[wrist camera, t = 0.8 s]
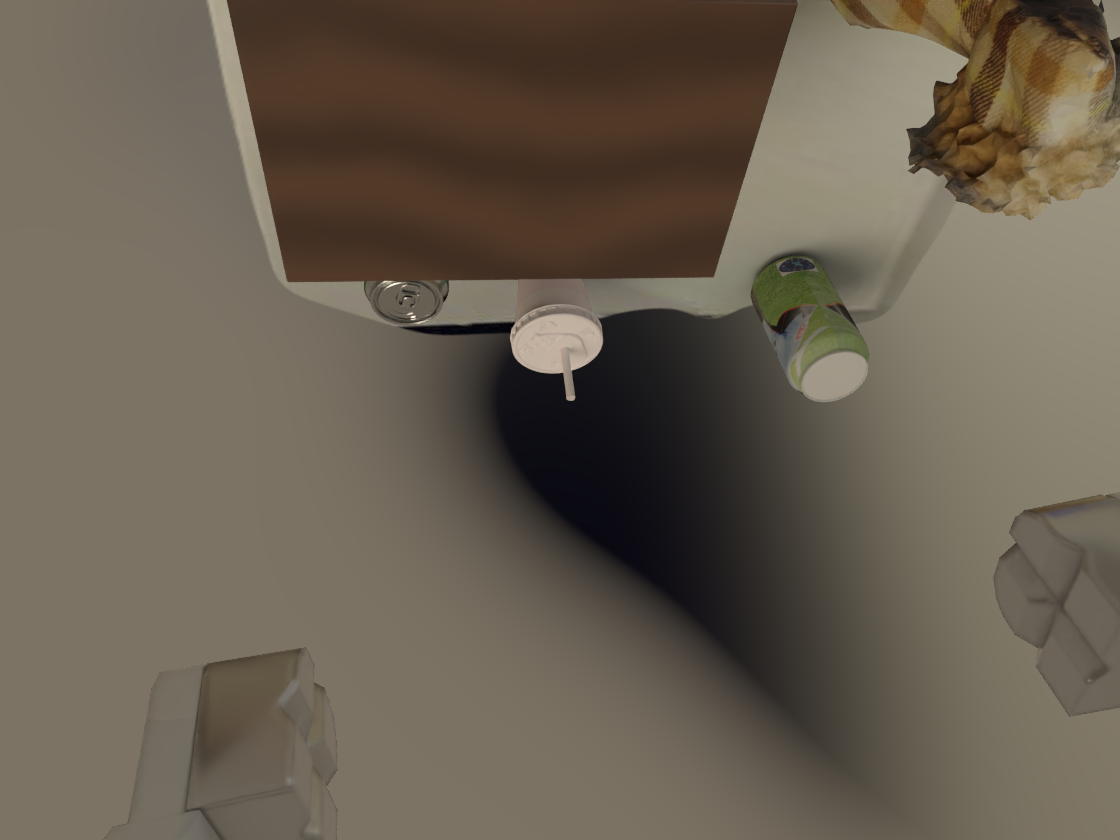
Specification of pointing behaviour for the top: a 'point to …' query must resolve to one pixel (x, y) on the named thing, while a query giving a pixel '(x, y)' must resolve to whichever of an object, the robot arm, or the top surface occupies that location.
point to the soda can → (407, 300)
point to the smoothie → (555, 327)
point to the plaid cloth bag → (1013, 97)
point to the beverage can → (810, 329)
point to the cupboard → (506, 133)
